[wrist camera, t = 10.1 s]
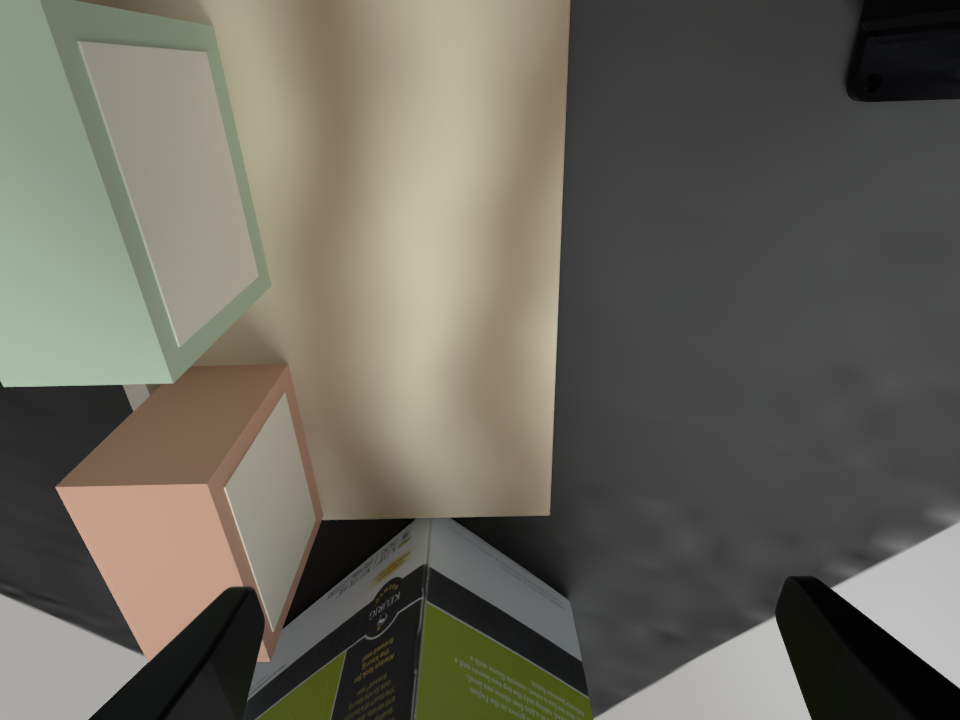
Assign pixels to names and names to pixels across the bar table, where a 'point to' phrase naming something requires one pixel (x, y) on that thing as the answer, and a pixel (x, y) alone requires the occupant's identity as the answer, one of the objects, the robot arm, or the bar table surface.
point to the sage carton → (117, 197)
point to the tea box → (428, 640)
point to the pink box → (200, 501)
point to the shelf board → (403, 239)
